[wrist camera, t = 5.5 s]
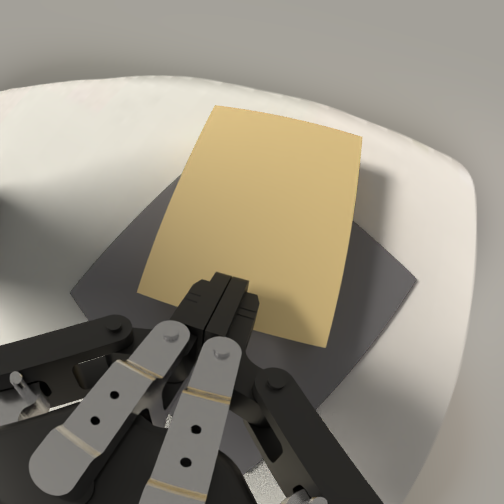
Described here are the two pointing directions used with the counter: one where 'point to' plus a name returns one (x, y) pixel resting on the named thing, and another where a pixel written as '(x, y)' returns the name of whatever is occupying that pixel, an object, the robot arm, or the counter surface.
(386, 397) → the counter surface
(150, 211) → the mat
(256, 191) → the panel
